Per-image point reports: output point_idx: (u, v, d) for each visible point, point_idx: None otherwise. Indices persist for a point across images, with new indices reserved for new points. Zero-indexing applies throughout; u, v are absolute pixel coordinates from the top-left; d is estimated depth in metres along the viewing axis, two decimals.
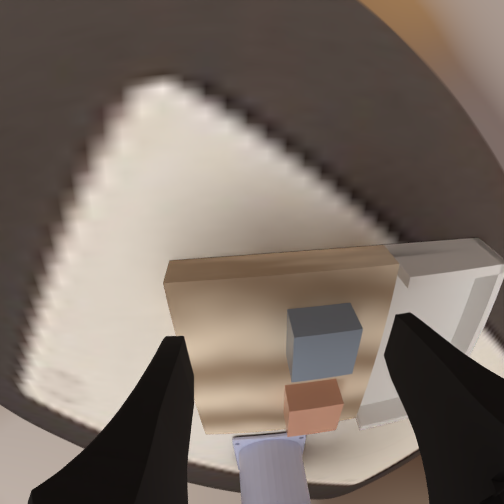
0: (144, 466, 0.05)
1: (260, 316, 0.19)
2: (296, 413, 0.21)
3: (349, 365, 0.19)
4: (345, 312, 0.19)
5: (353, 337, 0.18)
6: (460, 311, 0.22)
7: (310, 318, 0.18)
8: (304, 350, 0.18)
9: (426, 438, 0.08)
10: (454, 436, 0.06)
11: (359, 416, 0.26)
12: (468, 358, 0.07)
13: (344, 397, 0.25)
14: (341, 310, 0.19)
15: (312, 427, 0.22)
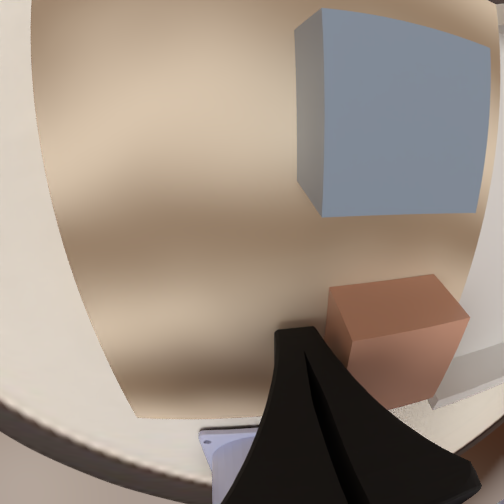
0: (328, 457, 0.05)
1: (228, 44, 0.07)
2: (367, 348, 0.08)
3: (472, 175, 0.06)
4: None
5: (475, 66, 0.05)
6: None
7: None
8: (358, 68, 0.05)
9: None
10: None
11: None
12: (357, 386, 0.07)
13: None
14: None
15: (393, 392, 0.09)
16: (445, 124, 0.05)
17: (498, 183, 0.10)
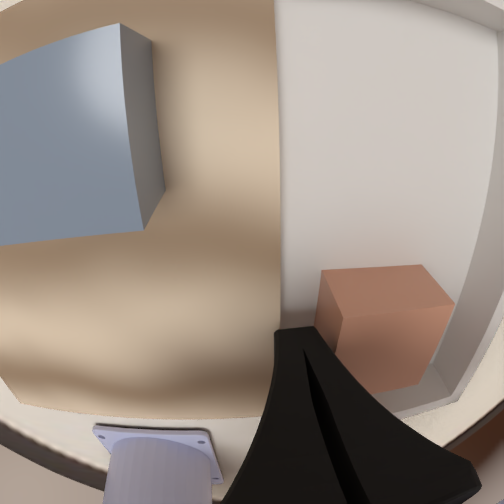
0: (328, 457, 0.05)
1: None
2: (357, 326, 0.09)
3: (118, 187, 0.06)
4: None
5: (95, 58, 0.04)
6: (486, 157, 0.09)
7: None
8: None
9: None
10: None
11: None
12: (358, 386, 0.07)
13: (229, 360, 0.11)
14: None
15: (380, 375, 0.10)
16: (63, 141, 0.05)
17: (321, 178, 0.09)
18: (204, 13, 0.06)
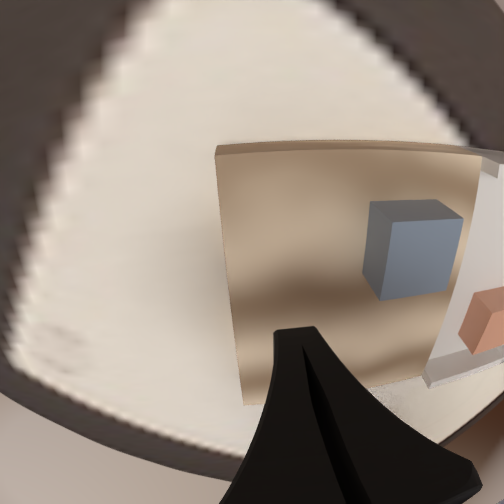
0: (327, 457, 0.05)
1: (338, 210, 0.15)
2: (494, 316, 0.17)
3: (445, 276, 0.14)
4: (437, 205, 0.14)
5: (454, 230, 0.13)
6: None
7: (401, 208, 0.14)
8: (401, 245, 0.13)
9: None
10: None
11: (427, 372, 0.21)
12: (358, 386, 0.07)
13: (416, 343, 0.20)
14: (431, 204, 0.14)
15: (494, 338, 0.18)
16: (434, 259, 0.13)
17: (469, 255, 0.18)
18: (456, 189, 0.14)
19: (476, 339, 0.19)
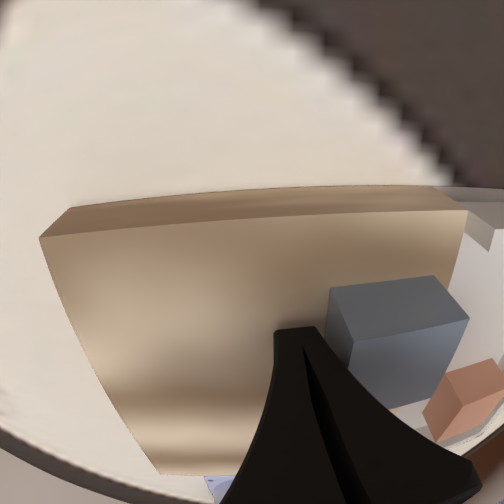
0: (327, 457, 0.05)
1: (214, 306, 0.10)
2: (466, 407, 0.13)
3: (432, 385, 0.10)
4: (432, 291, 0.09)
5: (452, 335, 0.08)
6: None
7: (376, 303, 0.09)
8: (368, 365, 0.08)
9: None
10: None
11: None
12: (358, 386, 0.07)
13: None
14: (424, 287, 0.10)
15: (466, 424, 0.14)
16: (418, 372, 0.09)
17: None
18: (420, 264, 0.10)
19: (441, 427, 0.14)
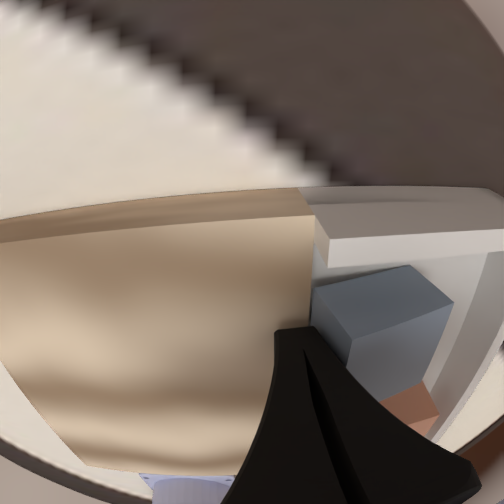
0: (328, 457, 0.05)
1: (62, 311, 0.10)
2: None
3: (421, 370, 0.10)
4: (413, 280, 0.10)
5: (439, 320, 0.09)
6: (460, 318, 0.13)
7: (363, 298, 0.09)
8: (365, 361, 0.09)
9: None
10: None
11: None
12: (357, 386, 0.07)
13: None
14: (405, 278, 0.10)
15: None
16: (409, 360, 0.09)
17: None
18: (257, 279, 0.10)
19: None
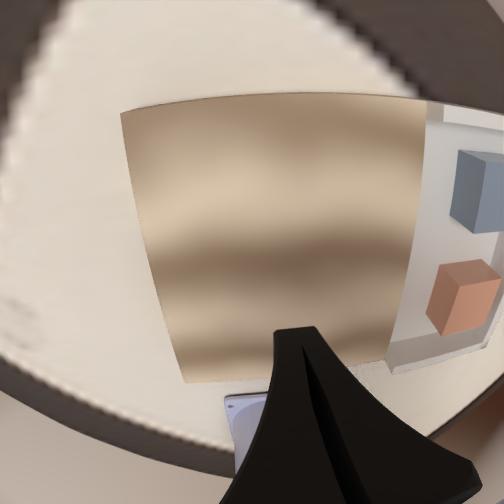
0: (327, 457, 0.05)
1: (250, 161, 0.14)
2: (463, 290, 0.16)
3: None
4: None
5: None
6: None
7: (484, 155, 0.14)
8: (491, 183, 0.13)
9: None
10: None
11: (390, 355, 0.20)
12: (358, 386, 0.07)
13: (371, 320, 0.19)
14: (501, 156, 0.14)
15: (467, 318, 0.17)
16: None
17: (427, 219, 0.17)
18: (396, 137, 0.13)
19: (444, 318, 0.18)
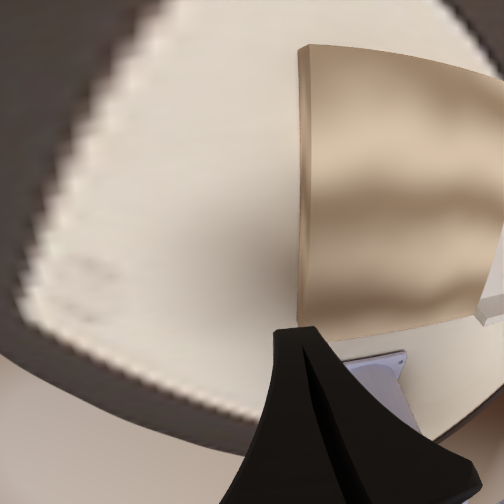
0: (327, 457, 0.05)
1: (415, 112, 0.13)
2: None
3: None
4: None
5: None
6: None
7: None
8: None
9: None
10: None
11: (480, 309, 0.20)
12: (358, 386, 0.07)
13: (473, 273, 0.18)
14: None
15: None
16: None
17: None
18: None
19: None
